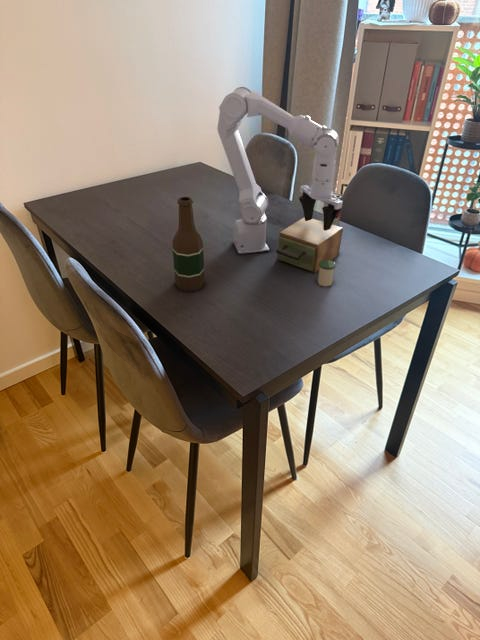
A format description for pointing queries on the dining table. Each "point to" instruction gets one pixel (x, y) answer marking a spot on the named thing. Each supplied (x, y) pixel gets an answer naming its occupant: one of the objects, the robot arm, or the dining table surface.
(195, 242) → the beer bottle
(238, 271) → the dining table surface
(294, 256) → the green drawer
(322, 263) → the jar
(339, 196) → the energy drink
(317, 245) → the wooden drawer box
